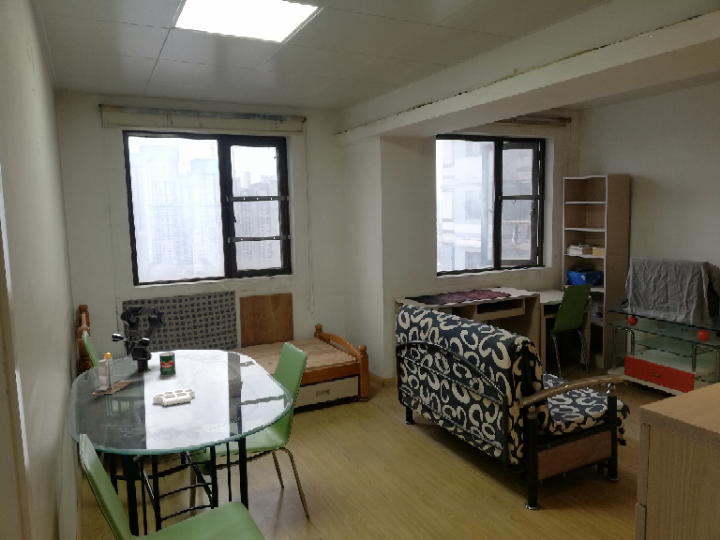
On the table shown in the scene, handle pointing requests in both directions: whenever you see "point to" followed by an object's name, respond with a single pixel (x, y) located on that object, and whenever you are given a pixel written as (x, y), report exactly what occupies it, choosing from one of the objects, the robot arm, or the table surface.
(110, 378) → the sliding leg
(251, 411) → the table surface
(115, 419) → the table surface
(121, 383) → the bolt board
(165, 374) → the canned tomato
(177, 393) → the white piece
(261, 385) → the table surface
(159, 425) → the table surface
